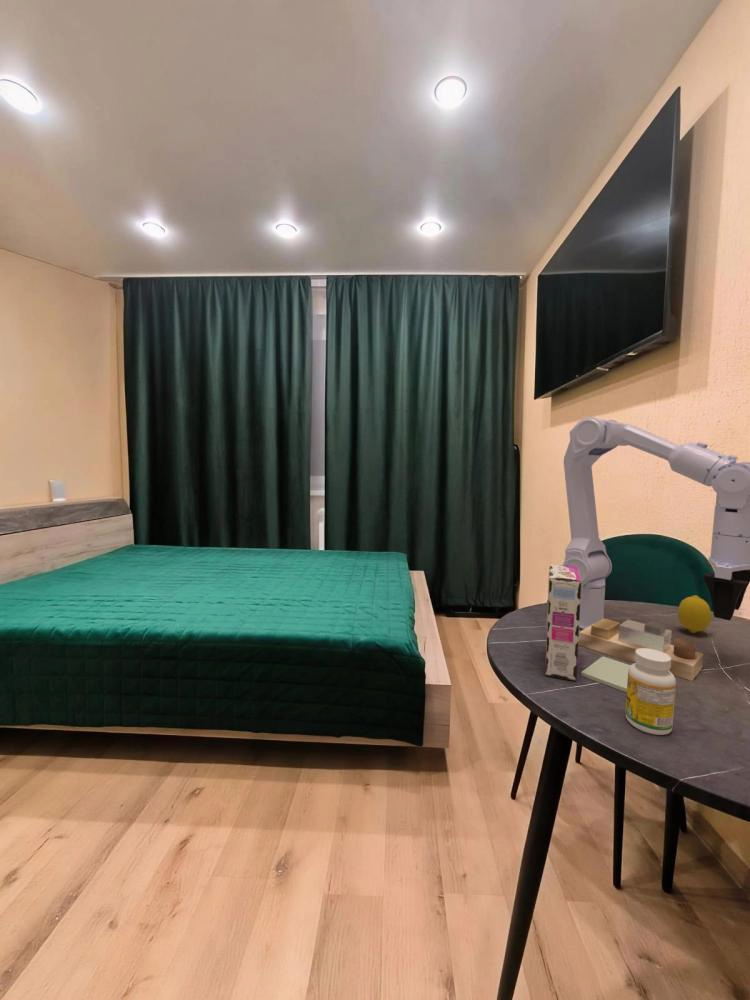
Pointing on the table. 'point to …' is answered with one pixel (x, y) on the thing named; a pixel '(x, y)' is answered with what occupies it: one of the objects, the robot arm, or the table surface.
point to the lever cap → (645, 635)
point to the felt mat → (608, 673)
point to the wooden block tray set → (606, 641)
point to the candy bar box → (563, 622)
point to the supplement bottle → (651, 692)
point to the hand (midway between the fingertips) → (726, 613)
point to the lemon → (694, 614)
